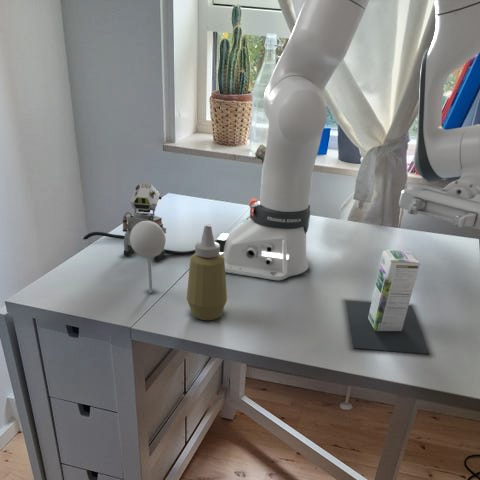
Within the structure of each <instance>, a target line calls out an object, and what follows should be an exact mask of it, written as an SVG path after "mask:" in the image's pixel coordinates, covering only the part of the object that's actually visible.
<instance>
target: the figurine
mask: <svg viewBox="0 0 480 480" xmlns="http://www.w3.org/2000/svg"><path fill="white" fill-rule="evenodd" d="M160 195H161V193H160V192H159V191H158V190H157V189H156V187H155V186H153V184H149V183H141V184H138V185H136V186H135V188H134V190H133V192H132V195H131V198H130V201H129V203H130V205H131V207H132V208H133V209H134V213H131V212H129V211H128V212H125V214H124V216H122V232H123V233H124V236H125V237H124V239H123V256H124V257H131V255H132V254H134V253H135V251H134V250H133V248H132V246H131V243H130V234H131V231H132V229H133V227H134V226H135V225H136V224H138V223H139V222H142V221H152V222H154V223H156V224H158V225H159V226H160V227H161V228H162V230H163V231H164V234H167V228H166V227H164V224H163V221H162V219H163V218H162V217H160V216H157V215H155V211H156V208H157V206H158V202H159V200H162V197H161V196H160ZM137 211H138V212H137ZM151 211H152V212H151ZM127 214H128V215H127ZM164 249H165V248H164ZM164 249H163V251H162V252H161V253H160V254H159V255H157V256H155V257H153V260H154V261H158V262H160V261H161V260H162V258H164V257H165V255H166V253H165V250H164Z"/></svg>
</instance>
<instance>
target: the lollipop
mask: <svg viewBox="0 0 480 480" xmlns="http://www.w3.org/2000/svg"><path fill="white" fill-rule="evenodd" d="M166 242H167V240H166V233H164V231H163V230H162V228H161V227H160V226H159V225H158V224H156V223H154V222H152V221H142V222H139V223H138V224H136V225H135V226H134V227H133V229H132V231H131V234H130V243H131V246H132V248H133V250H134V253H135V254H137V255H138V256H139V257H142V258H145V259H147V261H146V262H147V277H148V292H149V294H151V293H152V294H153V277H152V259H151V258H154V257H155V256H157V255H159V254H160V253H161V252H162V251H163V249H165V246H166Z"/></svg>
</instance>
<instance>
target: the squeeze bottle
mask: <svg viewBox="0 0 480 480" xmlns="http://www.w3.org/2000/svg"><path fill="white" fill-rule="evenodd" d="M213 233H214V232H213V228H212V224H209V223H206V224H204V226H203V231H202V236H201V240H200V241H197V242H196V243H195V245H194V246H195V247H194V250H195V254H191V255H190V259H189V271H188V279H187V282H188V283H187V291H186V301H187V303H188V306H189V309H190V312H191V314H192V316H193V317H194V318H195V319H198V320H201V321H213V320H216V319H219V318H220V317H221V315H222V314H223V311H224V309H225V307H226V304H227V302H228V292H227V291H228V289H227V277H226V275H227V274H226V272H225V260H224V257H223V256H222V255H221V254H220V245H219V244H218V243H217V242H214V241H215V239H214V238H215V237H214V234H213Z"/></svg>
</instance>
